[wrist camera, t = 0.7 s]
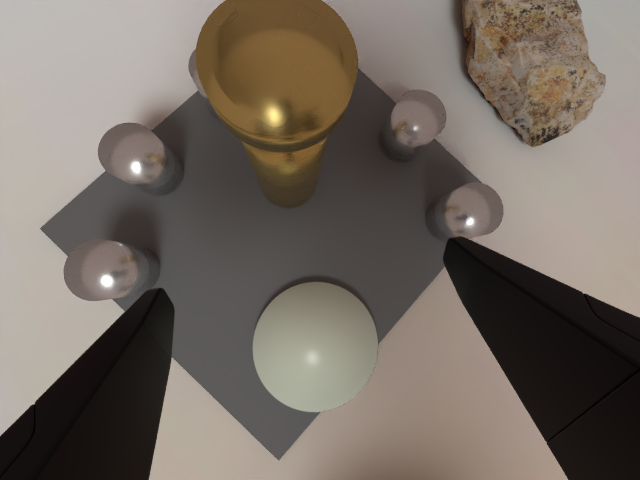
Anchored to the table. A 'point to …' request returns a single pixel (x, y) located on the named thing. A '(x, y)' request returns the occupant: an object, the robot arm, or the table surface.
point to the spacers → (167, 174)
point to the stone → (532, 64)
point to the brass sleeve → (279, 86)
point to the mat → (271, 242)
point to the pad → (315, 347)
